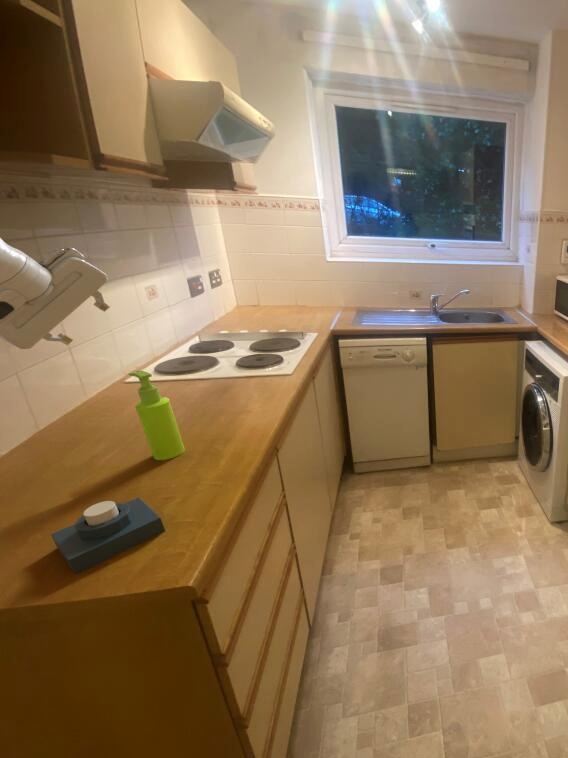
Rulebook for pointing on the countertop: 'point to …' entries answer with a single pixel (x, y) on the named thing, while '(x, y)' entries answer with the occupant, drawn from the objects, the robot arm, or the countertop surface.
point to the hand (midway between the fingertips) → (87, 324)
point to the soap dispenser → (157, 420)
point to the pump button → (101, 513)
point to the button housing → (107, 535)
